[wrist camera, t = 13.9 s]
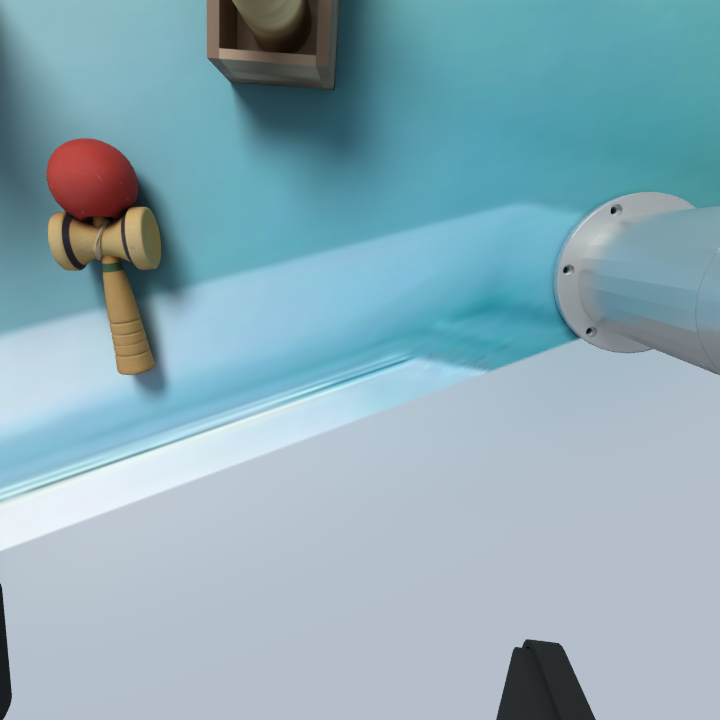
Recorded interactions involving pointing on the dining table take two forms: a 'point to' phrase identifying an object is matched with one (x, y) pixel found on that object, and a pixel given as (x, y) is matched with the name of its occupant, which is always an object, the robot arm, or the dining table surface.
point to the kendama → (105, 235)
